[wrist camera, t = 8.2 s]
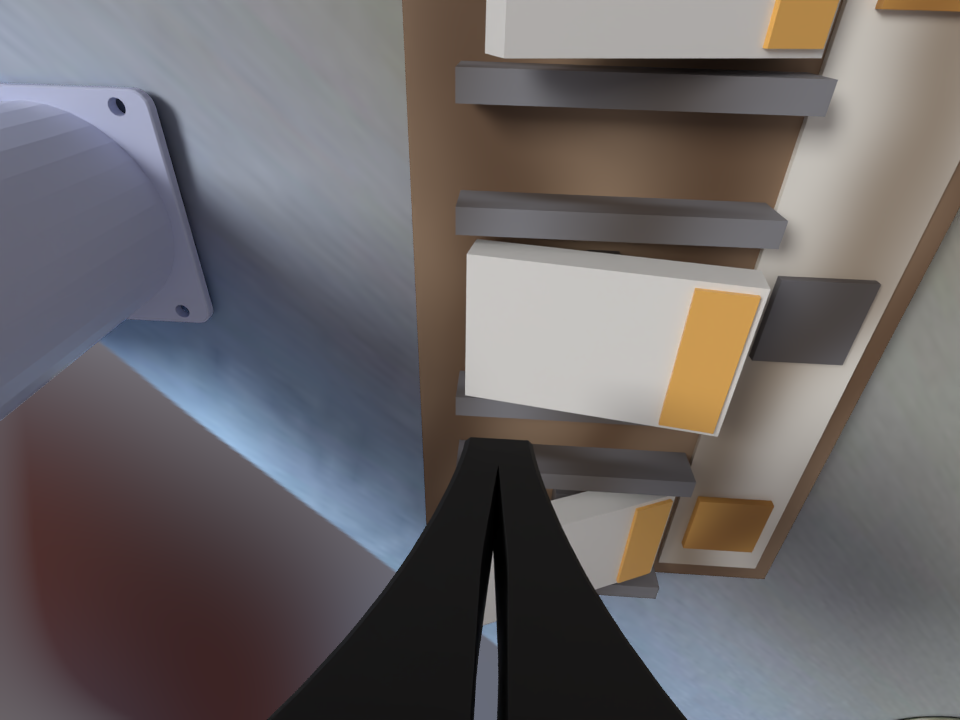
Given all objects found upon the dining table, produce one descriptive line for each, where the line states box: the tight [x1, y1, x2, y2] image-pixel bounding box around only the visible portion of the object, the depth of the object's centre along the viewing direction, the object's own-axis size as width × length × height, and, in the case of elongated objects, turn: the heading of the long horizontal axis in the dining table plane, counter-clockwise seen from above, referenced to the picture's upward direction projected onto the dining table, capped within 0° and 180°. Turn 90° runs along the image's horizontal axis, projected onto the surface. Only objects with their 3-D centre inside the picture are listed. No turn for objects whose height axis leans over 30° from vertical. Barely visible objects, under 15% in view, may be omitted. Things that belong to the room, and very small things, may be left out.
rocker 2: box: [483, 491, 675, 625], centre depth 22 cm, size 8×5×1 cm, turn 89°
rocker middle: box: [465, 239, 771, 437], centre depth 16 cm, size 8×5×1 cm, turn 88°
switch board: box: [402, 0, 960, 599], centre depth 18 cm, size 16×28×3 cm, turn 179°
